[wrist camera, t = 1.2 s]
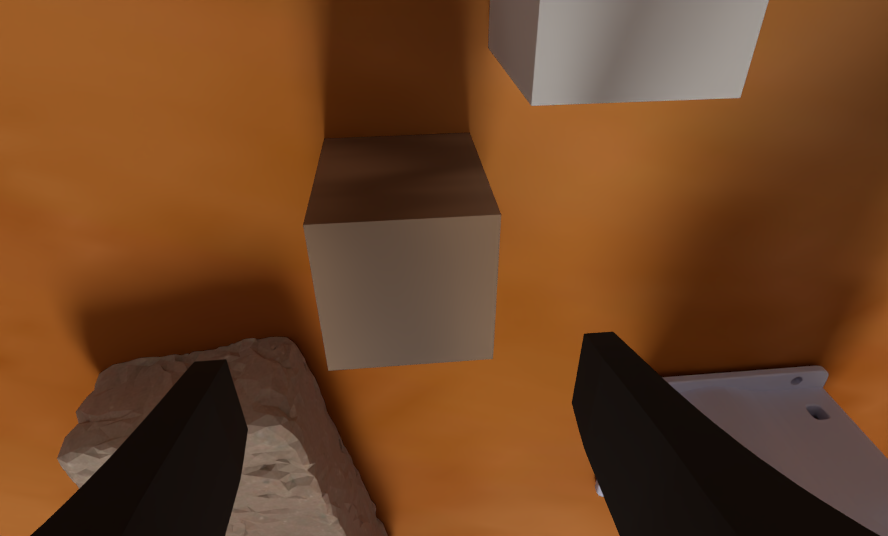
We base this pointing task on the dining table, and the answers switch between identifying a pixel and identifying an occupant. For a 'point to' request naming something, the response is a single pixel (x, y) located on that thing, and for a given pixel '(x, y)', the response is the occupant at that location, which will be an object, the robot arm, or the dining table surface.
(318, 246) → the walnut block
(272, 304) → the dining table surface
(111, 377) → the brick
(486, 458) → the dining table surface
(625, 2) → the grey block
